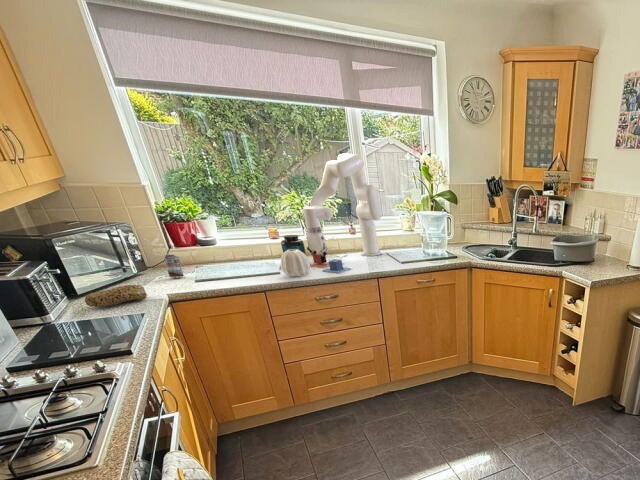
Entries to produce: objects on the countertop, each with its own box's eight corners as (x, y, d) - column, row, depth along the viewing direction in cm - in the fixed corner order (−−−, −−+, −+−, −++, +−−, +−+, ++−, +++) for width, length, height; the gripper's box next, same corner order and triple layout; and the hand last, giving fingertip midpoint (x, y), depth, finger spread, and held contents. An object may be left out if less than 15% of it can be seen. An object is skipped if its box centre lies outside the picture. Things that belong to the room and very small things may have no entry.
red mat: (319, 262, 253) (319, 261, 253) (334, 263, 250) (334, 263, 250) (306, 266, 244) (306, 265, 243) (322, 267, 241) (322, 266, 241)
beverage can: (169, 279, 211) (160, 256, 206) (171, 276, 217) (163, 253, 211) (184, 278, 214) (175, 255, 208) (186, 275, 220) (177, 252, 214)
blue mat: (335, 267, 243) (335, 266, 242) (351, 269, 240) (351, 268, 240) (322, 271, 233) (322, 270, 233) (338, 273, 231) (338, 272, 230)
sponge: (145, 298, 189) (83, 297, 175) (143, 281, 186) (79, 280, 171) (150, 310, 182) (86, 310, 168) (148, 293, 179) (83, 292, 164)
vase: (284, 279, 217) (277, 253, 211) (284, 273, 228) (278, 248, 222) (312, 277, 223) (306, 251, 216) (311, 271, 234) (306, 246, 227)
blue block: (336, 268, 239) (334, 259, 237) (343, 268, 238) (341, 260, 235) (330, 269, 235) (328, 261, 232) (337, 270, 234) (335, 261, 231)
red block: (319, 261, 249) (318, 253, 246) (326, 262, 248) (325, 253, 245) (314, 263, 245) (312, 254, 242) (320, 264, 243) (319, 255, 241)
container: (305, 266, 243) (299, 237, 235) (283, 266, 241) (276, 237, 233) (309, 261, 253) (303, 234, 246) (288, 262, 251) (282, 234, 243)
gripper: (330, 230, 238) (336, 262, 247) (306, 228, 243) (313, 259, 251) (321, 232, 232) (328, 265, 241) (297, 230, 236) (304, 262, 245)
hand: (320, 262), depth 246 cm, fingers closed on red block, 5 cm apart
